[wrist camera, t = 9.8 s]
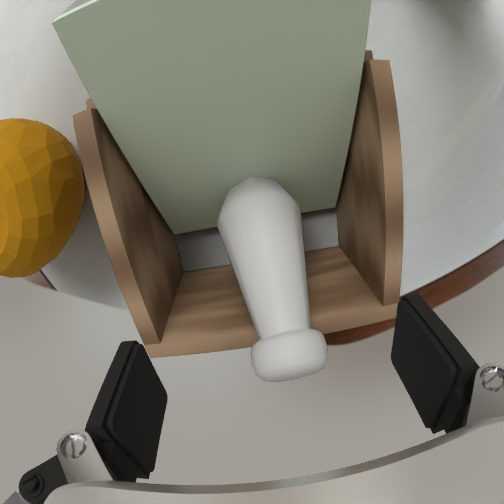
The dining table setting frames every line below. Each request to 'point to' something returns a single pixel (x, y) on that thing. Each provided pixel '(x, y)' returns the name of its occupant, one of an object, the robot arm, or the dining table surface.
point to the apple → (36, 195)
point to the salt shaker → (272, 278)
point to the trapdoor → (223, 94)
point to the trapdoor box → (223, 277)
